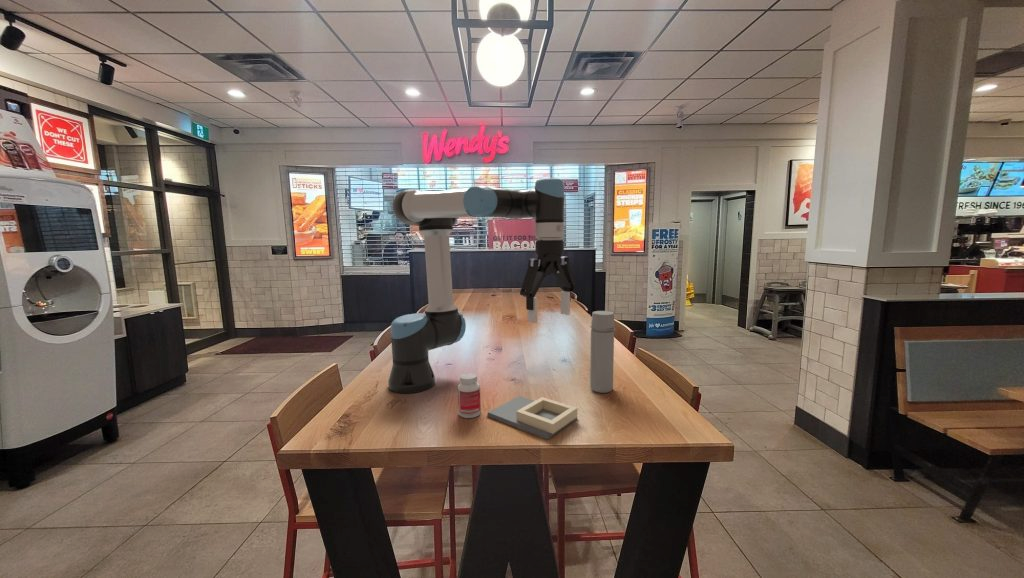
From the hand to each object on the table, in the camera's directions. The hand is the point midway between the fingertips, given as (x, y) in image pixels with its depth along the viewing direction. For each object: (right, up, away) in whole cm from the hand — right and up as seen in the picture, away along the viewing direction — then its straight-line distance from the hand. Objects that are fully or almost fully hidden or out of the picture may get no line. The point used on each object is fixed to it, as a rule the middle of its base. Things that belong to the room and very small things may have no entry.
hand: (549, 318), depth 105 cm
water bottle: (+19, -24, +19) cm, 36 cm away
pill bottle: (-22, -27, +3) cm, 35 cm away
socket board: (-5, -27, 0) cm, 28 cm away
